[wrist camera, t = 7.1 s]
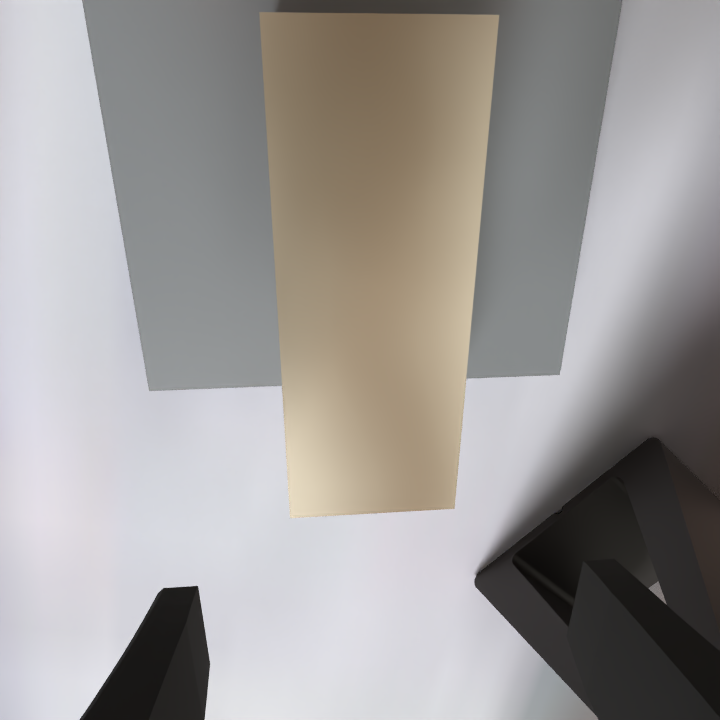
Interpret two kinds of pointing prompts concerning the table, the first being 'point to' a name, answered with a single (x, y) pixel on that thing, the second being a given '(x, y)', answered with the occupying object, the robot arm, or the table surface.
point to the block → (375, 247)
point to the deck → (252, 185)
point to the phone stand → (614, 553)
